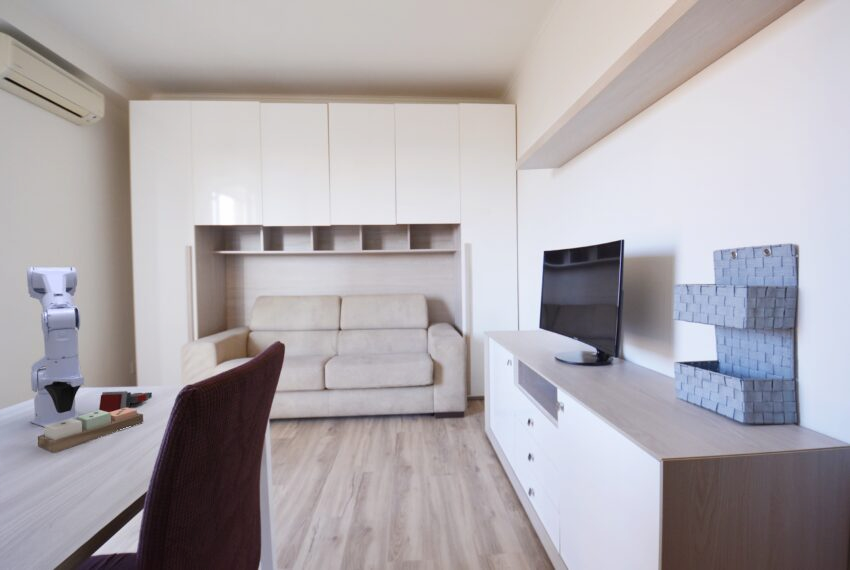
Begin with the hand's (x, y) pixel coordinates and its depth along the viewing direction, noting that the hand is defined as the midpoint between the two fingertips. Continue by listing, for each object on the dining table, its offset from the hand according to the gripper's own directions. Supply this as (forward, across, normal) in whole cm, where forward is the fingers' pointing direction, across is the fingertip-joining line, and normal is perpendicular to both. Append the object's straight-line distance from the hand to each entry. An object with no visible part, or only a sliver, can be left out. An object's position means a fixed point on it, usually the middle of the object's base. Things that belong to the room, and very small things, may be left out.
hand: (64, 411), depth 89 cm
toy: (+8, -16, +21) cm, 28 cm away
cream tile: (+6, 0, 0) cm, 6 cm away
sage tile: (+6, 0, +6) cm, 9 cm away
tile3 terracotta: (+8, 0, +12) cm, 14 cm away
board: (+8, 0, +6) cm, 10 cm away
